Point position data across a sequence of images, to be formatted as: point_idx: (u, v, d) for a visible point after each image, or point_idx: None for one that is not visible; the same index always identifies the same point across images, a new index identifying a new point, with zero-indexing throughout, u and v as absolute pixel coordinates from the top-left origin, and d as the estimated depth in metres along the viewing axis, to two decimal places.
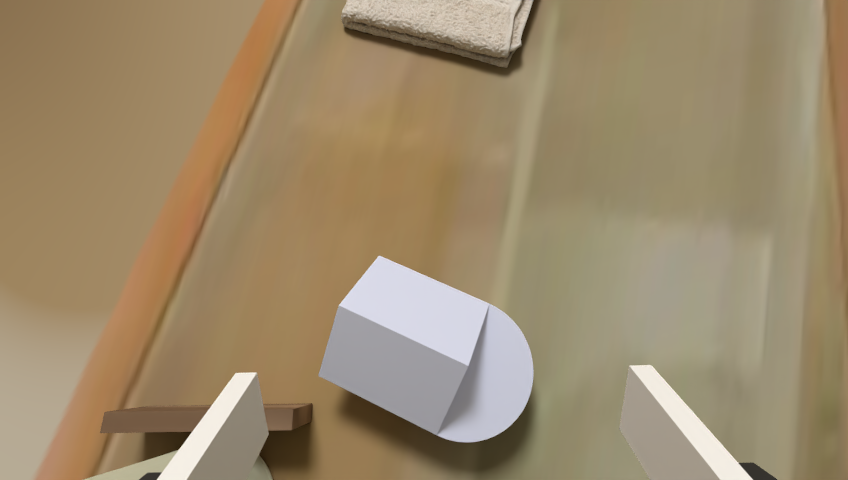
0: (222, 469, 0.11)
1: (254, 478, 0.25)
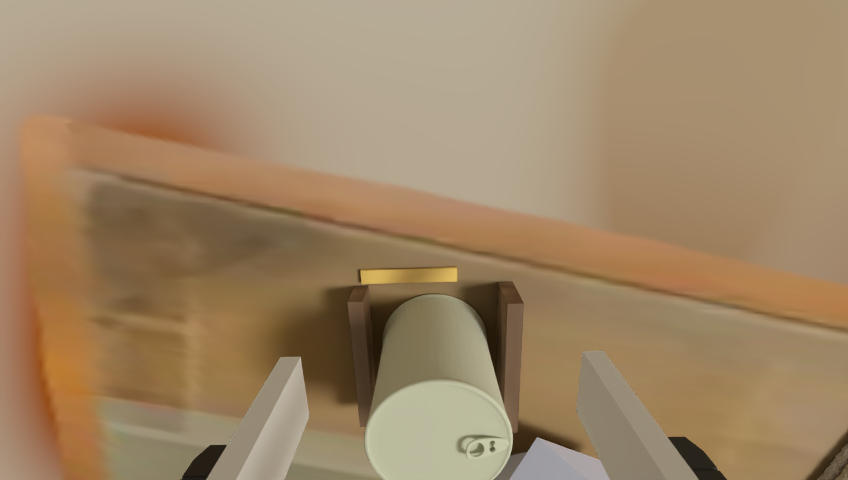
0: (276, 443, 0.12)
1: None
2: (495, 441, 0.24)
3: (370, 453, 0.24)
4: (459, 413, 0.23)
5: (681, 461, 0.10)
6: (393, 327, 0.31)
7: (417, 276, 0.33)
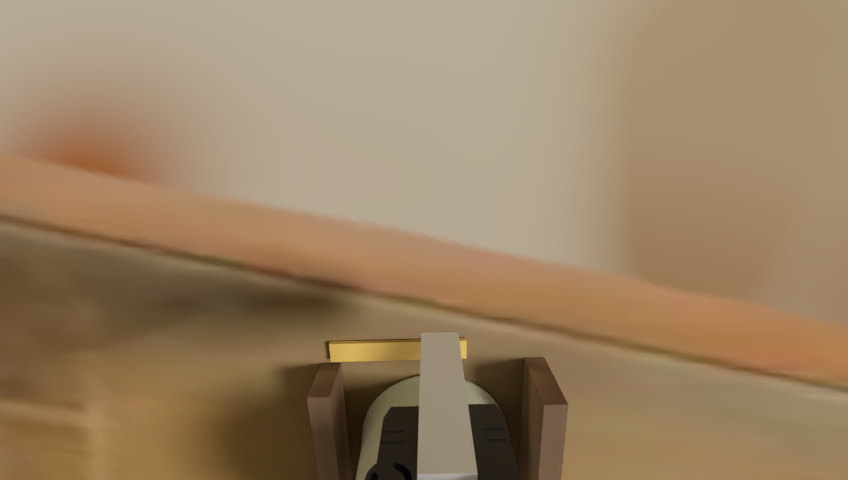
0: None
1: None
2: None
3: None
4: None
5: (466, 420, 0.11)
6: (375, 429, 0.22)
7: (409, 352, 0.23)
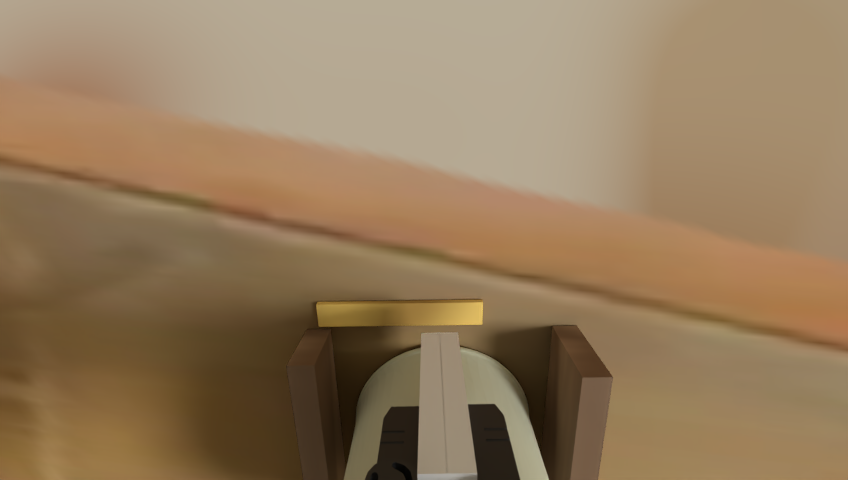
0: None
1: None
2: None
3: None
4: None
5: (466, 420, 0.11)
6: (370, 409, 0.18)
7: (414, 315, 0.19)
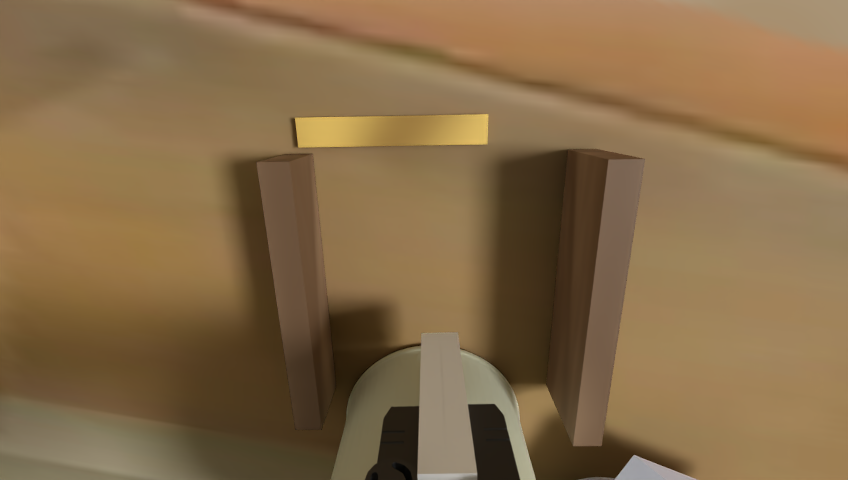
0: None
1: None
2: None
3: None
4: None
5: (466, 420, 0.11)
6: (368, 400, 0.18)
7: (408, 132, 0.16)
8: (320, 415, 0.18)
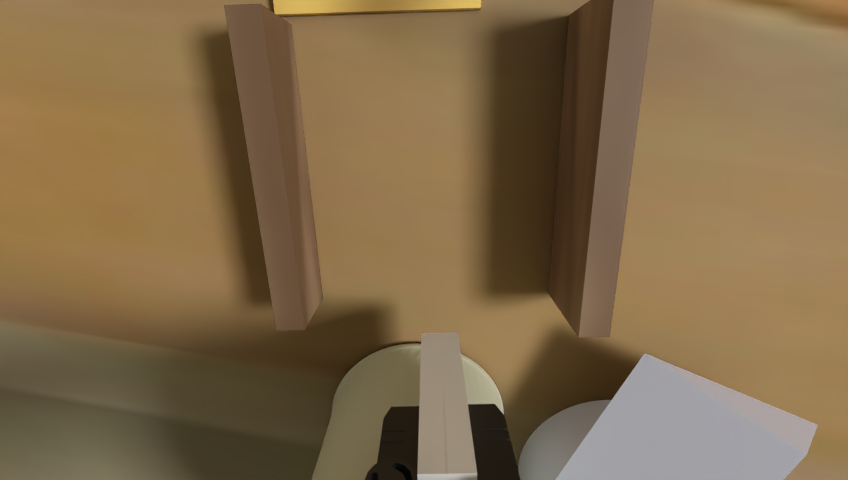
0: None
1: None
2: None
3: None
4: None
5: (466, 420, 0.11)
6: (366, 389, 0.18)
7: None
8: (302, 313, 0.16)
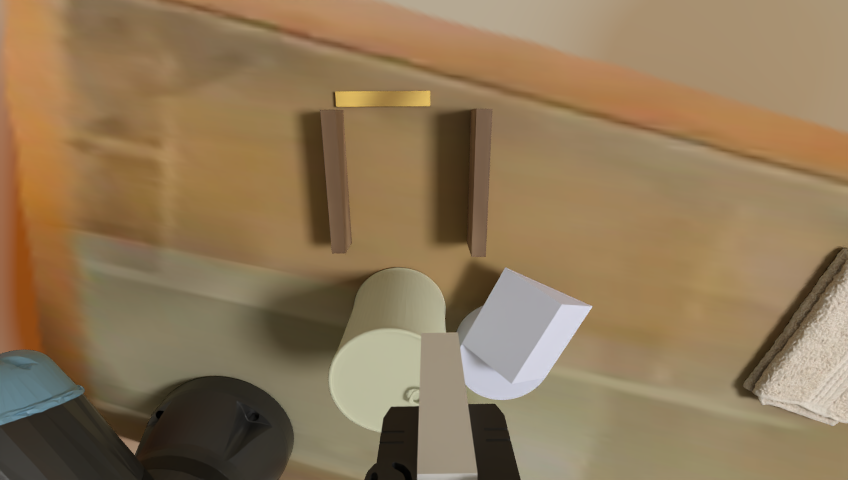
0: None
1: None
2: None
3: (332, 374, 0.28)
4: (416, 365, 0.28)
5: (466, 420, 0.11)
6: (374, 284, 0.36)
7: (391, 99, 0.33)
8: (345, 245, 0.34)
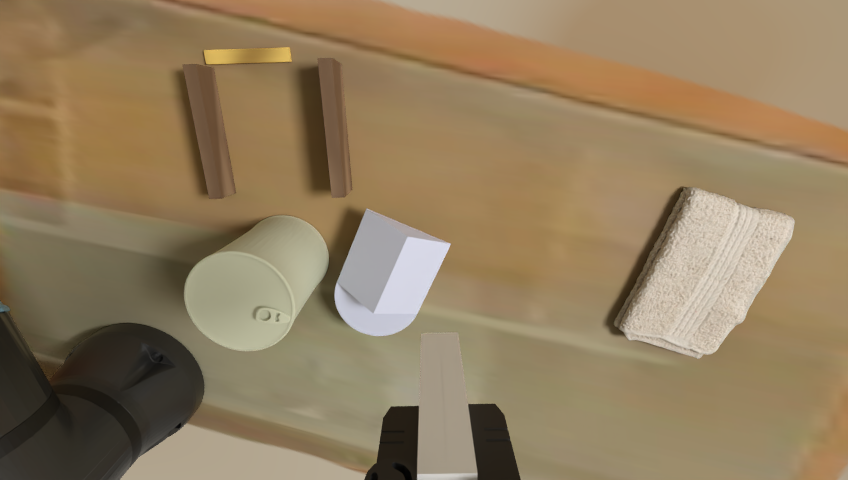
0: None
1: None
2: (280, 314, 0.32)
3: (187, 295, 0.32)
4: (260, 285, 0.32)
5: (466, 420, 0.11)
6: None
7: (254, 56, 0.37)
8: (220, 190, 0.38)
